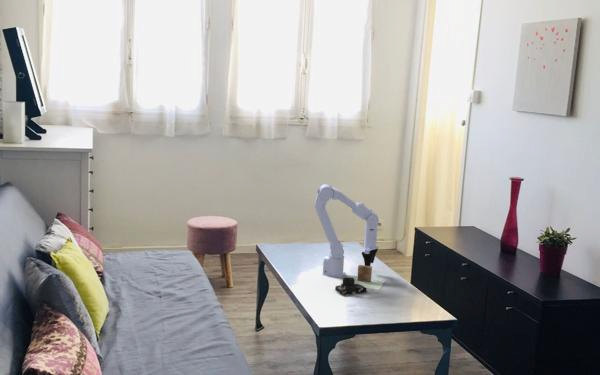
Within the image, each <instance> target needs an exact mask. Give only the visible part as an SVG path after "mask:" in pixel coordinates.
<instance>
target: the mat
mask: <svg viewBox="0 0 600 375" xmlns="http://www.w3.org/2000/svg"><path fill="white" fill-rule="evenodd" d="M346 277H350V278H354V280H355V282H354V284H360V285H363V286H364V287H365V288H367V289H369V290H375V291H376V290H377V291H379V290H380V289H381V288H382V287H383V285H384V283H385V282H386V280H383V279H382V280H381V279H374V278H371V282H364V281H357V279H358V276H352V275H347V276H346ZM341 284H343V281H342V282H341V283H340V284H339V285H341Z"/></svg>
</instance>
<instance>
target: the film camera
mask: <svg viewBox="0 0 600 375" xmlns="http://www.w3.org/2000/svg"><path fill="white" fill-rule="evenodd" d="M342 282H343V284H341V283H340V284H341V285H340V284H339V285H335V289H334V290H335V291H336V292H337V293H339V294H340V295H342V296H343V295H344V296H347V295H349V296H355V295H356V294H364V293H367V289H368V288H365V287H364V286H363V285H360V284H354V282H355V280H354V278H350V277H347V276H346V277H342Z"/></svg>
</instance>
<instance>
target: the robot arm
mask: <svg viewBox="0 0 600 375" xmlns="http://www.w3.org/2000/svg"><path fill="white" fill-rule="evenodd" d="M331 199H332V200H339V201H340V202H341V203H343V204H344V205H346V206H347V207H349V208H351V212H352V213H353V214H355V216H358V217H359V218H360V219H361V220H364V221H365V229H364V244H363V249H364V251H362V252H361V256H362V257H363V262H364V265H365V266H371V265H372V264H374V263H375V258H376V255H377V252H378V250H379V248H380V246H377V243H378V242H377V240H378V224H379V221H380V220H379V217H378V214H377V213H376V212H375V211H373V209H371V208H369V207H367V206H366V205H365V203H363V202H355V201H354V200H353V199H351V198H350V197H349V196H348V195H346V194H344V193H343V192H342V191H341V190H340V189H338V188H336V187H335V186H332V185H331V184H329V183H323V184H321V185H320V186H319V187H318V190H317V192H316V197H315V202H314V208H315V211H316V213H317V216H318V218H319V221H320V224H321V226H322V229H323V231H324V234H325V236H326V238H327V241H328V245H329V249H330V253H329V254H328V255H325V256H324V258H323V262H322V265H323V266H322V276H328V277H333V278H341V279H343V278H344V277H343V276H345V275H346V272H344V265H345V261H344V260H345V255H344V254H345V249H344V246H343V243H342V242H341V241H340V240H339V238H338V236H337V234H336V231H335V229H334V227H333V224H332V221H331V218H330V216H329V213H328V210H327V208H326V205H327V204H328V202H329V201H330V200H331Z"/></svg>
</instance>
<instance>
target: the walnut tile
mask: <svg viewBox="0 0 600 375" xmlns="http://www.w3.org/2000/svg"><path fill="white" fill-rule="evenodd" d="M372 270H373V266H371V265H370V266H365V264H359V265H358V266H357V277H358V279H357V281H364V282H371V279H372V274H373V272H372Z"/></svg>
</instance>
